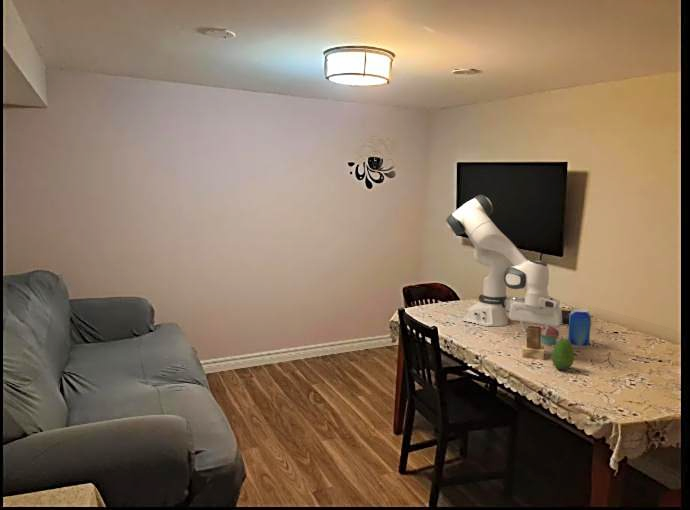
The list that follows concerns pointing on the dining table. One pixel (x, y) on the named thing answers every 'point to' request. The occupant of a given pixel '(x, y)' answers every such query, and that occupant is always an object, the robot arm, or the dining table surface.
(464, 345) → the dining table surface
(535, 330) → the walnut block
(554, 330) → the cupcake
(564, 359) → the avocado
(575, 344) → the beer can
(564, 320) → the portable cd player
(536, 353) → the oak block
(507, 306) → the ramekin
